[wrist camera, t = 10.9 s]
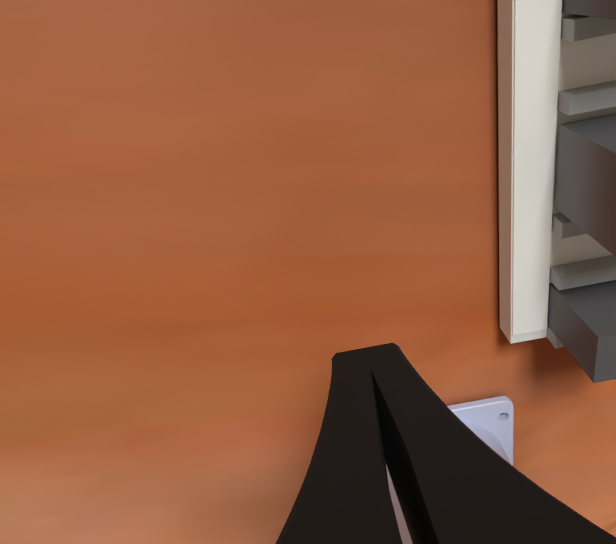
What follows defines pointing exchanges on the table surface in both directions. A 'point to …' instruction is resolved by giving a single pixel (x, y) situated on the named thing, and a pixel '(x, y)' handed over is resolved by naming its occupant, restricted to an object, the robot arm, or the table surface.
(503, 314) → the panel
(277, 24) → the table surface
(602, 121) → the block
